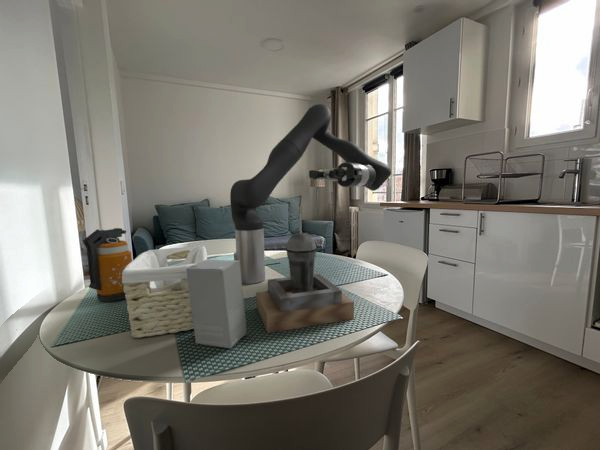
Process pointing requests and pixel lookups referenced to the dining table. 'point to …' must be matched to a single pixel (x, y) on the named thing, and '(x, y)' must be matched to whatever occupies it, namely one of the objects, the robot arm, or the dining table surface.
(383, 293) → the dining table surface
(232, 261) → the skincare box
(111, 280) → the canister
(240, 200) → the robot arm
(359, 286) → the dining table surface
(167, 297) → the storage basket
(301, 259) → the beverage cup
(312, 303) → the cup block
